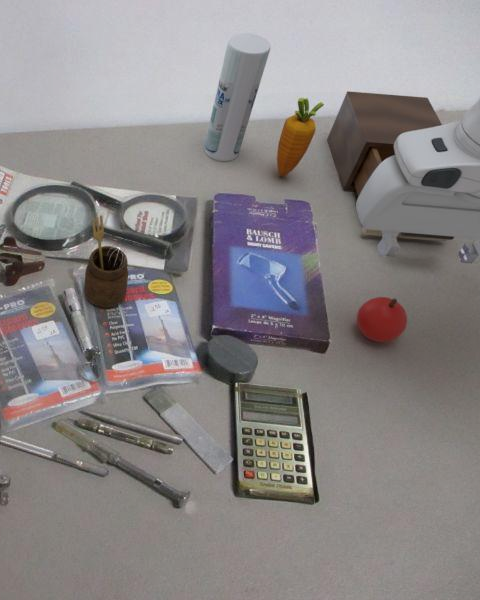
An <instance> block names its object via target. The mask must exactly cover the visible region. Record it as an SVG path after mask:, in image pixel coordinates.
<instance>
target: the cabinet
mask: <svg viewBox="0 0 480 600" xmlns="http://www.w3.org/2000/svg"><path fill="white" fill-rule="evenodd" d="M441 125H443V124H442V122H441V120H440V118H439V116H438V114H437V113H436V111H435V109H434V107H433V106H432V103H431V101H430V99H429V98H428V97H425V96H412V95H398V94H386V93H385V94H384V93H373V92H362V91H361V92H360V91H348V90H347V91H346V93H345V96H344V98H343V101H342V103H341V106H340V107H339V110H338V113H337V115H336V117H335V119H334V121H333V124H332V127H331V129H330V132H329V134H328V136H327V138H326V140H327V143H328V146H329V150H330V152H331V155H332V159H333V162H334V166H335V169H336V172H337V176H338V179H339V183H340V185H341V188H342V191H345V192H347V191H349V192H357V191H356V188H355V185H354V182H353V180H354V178H355V176H356V174H357V172H358V169H359V167H360V165H361V163H362V161H363V159H364V157H365V155H366V153H367V151H368V149H369V147H378V148H391V149H394V143H395V141H396V139H397V137H398V136H399V135H400V134H402V133H405V132H409V131H415V130H421V129H426V128H431V127H436V126H441Z"/></svg>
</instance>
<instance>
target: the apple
mask: <svg viewBox="0 0 480 600" xmlns="http://www.w3.org/2000/svg"><path fill="white" fill-rule="evenodd" d="M407 324H408V315H407V312H406V310H405V308H404V307H403V305H402V304H400V303H399V302H398V300H397V298H390V297H385V296H377V297H372V298H370V299H368V300H366V301H365V302H364V303H363V304H362V305H361V306H360V307H359V309H358V311H357V314H356V325H357V328H358V331H360V333H361V334H362V335H363V336H364V337H365V338H367V339H369V340H371V341H372V342H377V343H387V342H392V341H394V340H396V339H397V338H399V337H400V336H401V335H402V334H403V333H404V331H405V330H406V328H407Z"/></svg>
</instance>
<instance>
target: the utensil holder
mask: <svg viewBox="0 0 480 600" xmlns="http://www.w3.org/2000/svg"><path fill="white" fill-rule="evenodd" d="M91 222H92V223H91V225H92V235H93V239H94V240H97V246H98V247H97V248H95V249H93V251H92V252H91V254H90V255H89V258H88V262H87V263H88V264H87V265H86V269H85V273H84V284H83V285H84V289H83V290H84V293H85V294H84V295H85V297H86V299H87V300H88V301H89V302H90V303H91V304H92V305H94V306H96V307H99V308H102V309H103V308H104V309H105V308H106V309H108V308H109V309H110V308H113V307H116V306H118V305H119V304H121V303H122V301H123V300H124V299H125V298H126V293H127V289H128V282H129V269H128V257H127V254H126V253H125V252H126V248H125V246H123V247H122V246H121V244H119V245H118V246H115V244H113V245H112V246H110V245H104V246H102V238H103V237H104V236H105V230H104V221H103V215H102V214H99V216H96V217H95V218H94V217H92V219H91Z"/></svg>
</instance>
